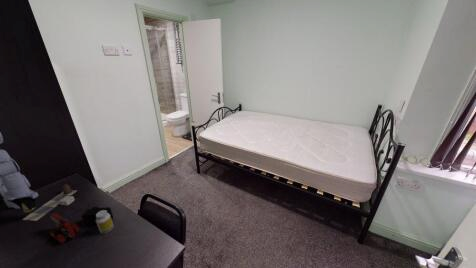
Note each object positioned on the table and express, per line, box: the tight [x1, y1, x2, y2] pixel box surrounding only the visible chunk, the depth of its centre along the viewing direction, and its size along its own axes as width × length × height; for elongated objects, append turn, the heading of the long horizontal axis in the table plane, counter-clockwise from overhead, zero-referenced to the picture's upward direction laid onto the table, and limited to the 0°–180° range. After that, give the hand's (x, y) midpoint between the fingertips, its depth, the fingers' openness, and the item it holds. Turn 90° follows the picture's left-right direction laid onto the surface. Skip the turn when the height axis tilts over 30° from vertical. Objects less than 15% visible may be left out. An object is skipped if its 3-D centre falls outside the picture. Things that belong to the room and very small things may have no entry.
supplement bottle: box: [96, 210, 115, 235], centre depth 81 cm, size 5×5×10 cm
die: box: [59, 195, 76, 206], centre depth 96 cm, size 4×4×4 cm
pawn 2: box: [61, 184, 73, 195], centre depth 102 cm, size 4×4×6 cm
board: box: [21, 189, 78, 222], centre depth 96 cm, size 8×22×1 cm, turn 176°
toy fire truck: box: [49, 212, 81, 244], centre depth 78 cm, size 7×12×10 cm, turn 67°
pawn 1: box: [21, 203, 37, 213], centre depth 84 cm, size 4×4×6 cm
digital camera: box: [81, 206, 114, 227], centre depth 85 cm, size 10×5×7 cm, turn 97°
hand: (29, 207), depth 85 cm, fingers closed on pawn 1, 3 cm apart
